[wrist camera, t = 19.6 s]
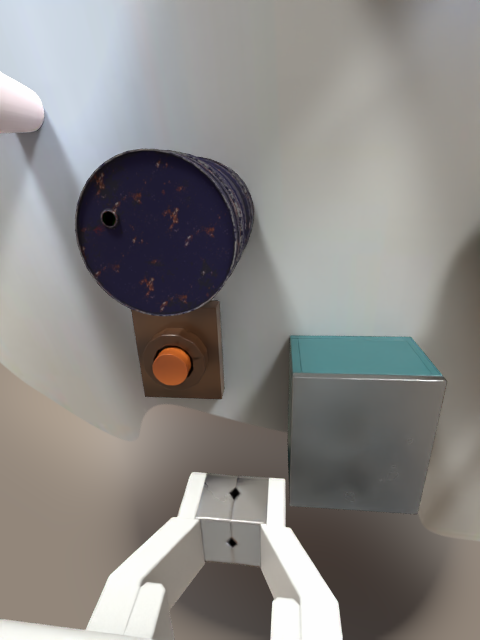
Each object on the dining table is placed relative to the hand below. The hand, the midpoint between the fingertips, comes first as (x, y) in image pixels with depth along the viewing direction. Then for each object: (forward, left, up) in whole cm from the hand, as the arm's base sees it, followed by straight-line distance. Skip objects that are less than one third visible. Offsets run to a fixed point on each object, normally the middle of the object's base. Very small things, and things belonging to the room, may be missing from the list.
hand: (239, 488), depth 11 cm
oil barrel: (+2, -8, -27) cm, 28 cm away
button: (+13, +2, -23) cm, 26 cm away
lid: (+1, +17, -19) cm, 26 cm away
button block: (+13, +2, -27) cm, 30 cm away
